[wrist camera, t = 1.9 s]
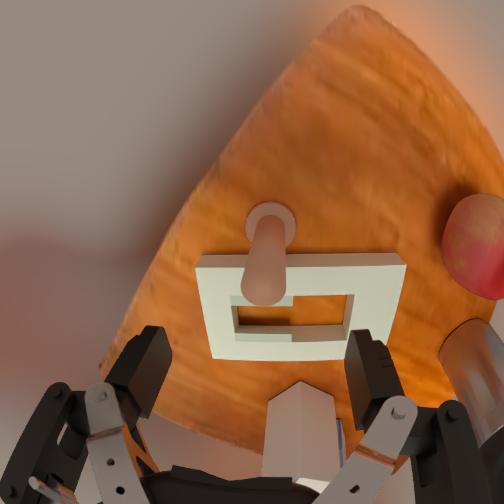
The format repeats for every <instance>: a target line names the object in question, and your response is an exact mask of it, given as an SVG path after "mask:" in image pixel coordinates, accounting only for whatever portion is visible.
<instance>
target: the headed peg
mask: <svg viewBox="0 0 504 504" xmlns="http://www.w3.org/2000/svg"><path fill="white" fill-rule="evenodd" d="M245 232H246V236H247V238H248V240H249V241H250V243H251V247H250V251H249V255H248V258H247V262H246V266H245V269H244V273H243V277H242V280H241V285H240V286H241V292H242V294H243V296H244V297H245V299H246V300H248V301H249V302H250V303H252V304H254V305H257V306H271V305H274V304H276V303H278V302H279V301H280V300H281V299H282V298H283V297H284V295H285V292H286V247H287V246H289V245H290V244H291V242H292V241H293V239H294V237H295V234H296V222H295V218H294V215H293V213H292V212H291V210H290V209H289V208H288V207H286V206H285V205H284V204H282V203H279V202H275V201H266V202H262V203H260V204H258V205H257V206H255V207H254V208H253V209H252V210H251V211H250V213H249V215H248V217H247V220H246V224H245Z"/></svg>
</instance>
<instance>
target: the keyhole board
mask: <svg viewBox="0 0 504 504" xmlns="http://www.w3.org/2000/svg"><path fill="white" fill-rule="evenodd" d="M248 255H249V254H247V255H202V257H201V259H200V260H199V262H198V264H197V265H196V267H195V271H196V277H197V282H198V288H199V293H200V299H201V304H202V309H203V314H204V320H205V325H206V329H207V334H208V339H209V344H210V348H211V353H212V357H213V358H215V359H230V360H253V361H315V360H337V359H344V358H345V352H346V348H347V343H348V339H349V334H350V331H351V330H358V329H369V331H370V333H371V336H372V339H373V340H381V341H382V342H383V344H384V345H385V346H386V343H387V340H388V337H389V334H390V330H391V327H392V324H393V320H394V317H395V313H396V309H397V305H398V301H399V297H400V293H401V289H402V285H403V280H404V276H405V271H406V266H407V265H406V263H405V262H404V261H403V260H402V259H401V257H400V256H399V255H398V254H397V253H333V254H286V292H285V295H284V297H283V298H282V299H281V300H280V301H279V302H278V303H276V304H274V305H271V306H293V296H308V295H346V294H347V299H346V306H345V313H344V319H343V324H339V325H310V326H249V325H239V320H238V311H237V306H257V305H254V304H252V303H250V302H249V301H248V300H246V299H245V297H244V296H243V294H242V292H241V286H240V285H241V280H242V277H243V273H244V269H245V266H246V262H247V258H248Z"/></svg>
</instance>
